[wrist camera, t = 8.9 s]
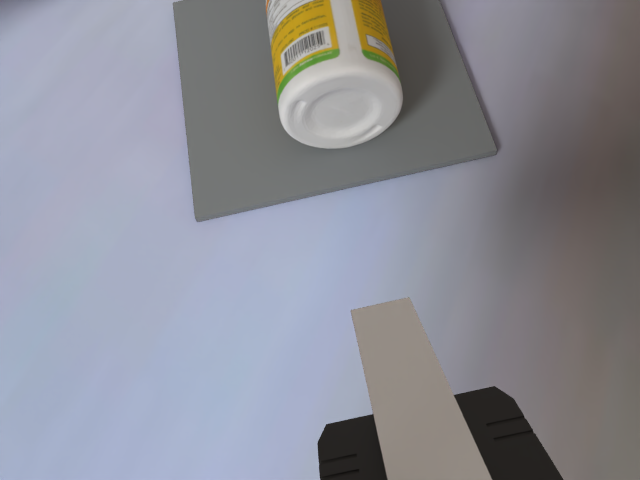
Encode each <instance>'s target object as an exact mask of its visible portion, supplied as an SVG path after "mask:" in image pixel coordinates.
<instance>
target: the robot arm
mask: <svg viewBox="0 0 640 480" xmlns="http://www.w3.org/2000/svg"><path fill="white" fill-rule="evenodd" d="M351 314H352V319H353V323H354V328H355V332H356V337H357V342H358V346H359V351H360V355H361V360H362V365H363V369H364V374H365V378H366V383H367V387H368V392H369V397H370V401H371V406H372V410H373V414H372V415H367V416H363V417H358V418H353V419H349V420H344V421H340V422H335V423H330V424H326V426H325V428H324V430H323V432H322V435H321V437H320V439H319V441H318V456H319V471H320V480H563V478H562V477H561V475H560V473H559V472H558V470H557V469H556V467H555V465H554V464H553V462H552V460H551V459H550V457H549V456H548V454H547V452H546V451H545V449H544V447H543V446H542V444H541V443H540V441H539V439H538V438H537V436H536V434H535V433H533V429H532V428H531V426H530V425H529V423H528V421H527V420H526V419H525V418H524V415H523V413H522V412H521V410H520V408H519V407H518V405H517V403H516V402H515V400H514V399H513V398H512V397H510V396H509V395H507V394H506V393H504V392H503V391H501V390H500V389H498V388H496V387H495V386H493V387H489V388H484V389H480V390H475V391H470V392H466V393H461V394H456V395H453V392H452V390H451V388H450V386H449V384H448V381H447V379H446V377H445V375H444V373H443V370H442V368H441V366H440V364H439V362H438V359H437V357H436V355H435V353H434V351H433V348H432V346H431V344H430V342H429V340H428V337H427V335H426V333H425V331H424V329H423V326H422V324H421V322H420V320H419V318H418V315H417V313H416V311H415V309H414V307H413V304H412V302H411V300H410V298H409V297H408V298H404V299H399V300H395V301H390V302H386V303H381V304H377V305H372V306H368V307H363V308H358V309H354V310H351Z"/></svg>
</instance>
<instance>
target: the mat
mask: <svg viewBox="0 0 640 480" xmlns="http://www.w3.org/2000/svg"><path fill="white" fill-rule="evenodd" d="M381 3H382V8H383V12H384V16H385V20H386V24H387V28H388V33H389V37H390V41H391V45H392V49H393V53H394V57H395V62H396V65H397V70H398V74H399V78H400V82H401V87H402V93H403V102H402V107H401V110H400V113H399V115H398V116H397V118H396V119H395V121H394V122H393V123H392V124H391V125H390V126H389V127H388V128H387V129H386V130H385V131H384V132H382V133H381V134H379V135H378V136H376V137H375V138H373V139H371V140H369V141H366V142H364V143H362V144H358V145H355V146H352V147H347V148H337V149H327V148H318V147H313V146H309V145H306V144H303V143H301V142H299V141H297V140H296V139H294V138H293V137H291V136H290V135H289V134H288V133H287V132H286V130H285V129H284V127H283V125H282V123H281V120H280V116H279V110H278V103H277V95H276V87H275V78H274V70H273V62H272V53H271V45H270V38H269V29H268V22H267V15H266V0H183V1H178V2H174V3H173V9H174V19H175V28H176V38H177V48H178V58H179V67H180V77H181V87H182V97H183V106H184V116H185V126H186V135H187V145H188V155H189V165H190V174H191V184H192V194H193V203H194V213H195V219H196V220H197V222H200V221H205V220H209V219H214V218H218V217H222V216H227V215H231V214H236V213H240V212H245V211H249V210H253V209H258V208H262V207H267V206H271V205H276V204H280V203H284V202H289V201H293V200H298V199H302V198H307V197H311V196H316V195H320V194H324V193H329V192H333V191H338V190H342V189H347V188H351V187H355V186H360V185H364V184H369V183H373V182H378V181H382V180H386V179H391V178H395V177H400V176H404V175H409V174H413V173H417V172H422V171H426V170H431V169H435V168H440V167H444V166H448V165H453V164H457V163H462V162H466V161H471V160H475V159H480V158H484V157H488V156H493V155H496V152H497V148H496V146H495V143H494V140H493V138H492V135H491V133H490V130H489V127H488V125H487V122H486V120H485V117H484V115H483V112H482V109H481V107H480V104H479V102H478V99H477V96H476V94H475V91H474V89H473V86H472V83H471V81H470V78H469V76H468V73H467V70H466V68H465V65H464V63H463V60H462V58H461V55H460V52H459V50H458V47H457V45H456V42H455V39H454V37H453V34H452V32H451V29H450V26H449V24H448V21H447V19H446V16H445V14H444V11H443V8H442V6H441V3H440V1H439V0H381Z"/></svg>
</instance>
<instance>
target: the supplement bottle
mask: <svg viewBox="0 0 640 480" xmlns="http://www.w3.org/2000/svg"><path fill="white" fill-rule="evenodd" d="M266 15H267V22H268V29H269V38H270V45H271V53H272V62H273V70H274V78H275V87H276V95H277V103H278V110H279V116H280V120H281V123H282V125H283V127H284V129H285V130H286V132H287V133H288V134H289V135H290V136H291V137H293V138H294V139H296V140H297V141H299V142H301V143H303V144H306V145H309V146H313V147H318V148H327V149H337V148H347V147H352V146H355V145H358V144H362V143H364V142H366V141H369V140H371V139H373V138H375V137H376V136H378V135H379V134H381V133H382V132H384V131H385V130H386V129H387V128H388V127H389V126H390V125H391V124H392V123H393V122H394V121H395V119H396V118H397V116H398V115H399V113H400V110H401V107H402V102H403V93H402V87H401V82H400V78H399V74H398V70H397V65H396V62H395V57H394V53H393V49H392V45H391V41H390V37H389V33H388V28H387V24H386V20H385V16H384V12H383V8H382V3H381V0H266Z"/></svg>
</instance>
